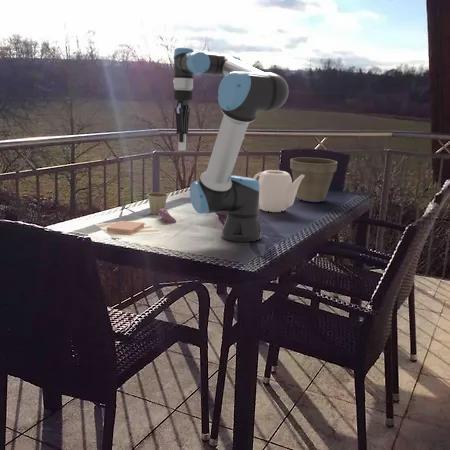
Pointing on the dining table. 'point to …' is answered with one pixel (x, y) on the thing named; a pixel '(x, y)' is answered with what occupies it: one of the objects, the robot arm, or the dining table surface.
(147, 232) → the board
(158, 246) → the dining table surface
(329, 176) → the plant pot
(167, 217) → the video game controller
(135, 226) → the tile
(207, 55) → the robot arm
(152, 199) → the flower pot
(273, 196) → the watering can
